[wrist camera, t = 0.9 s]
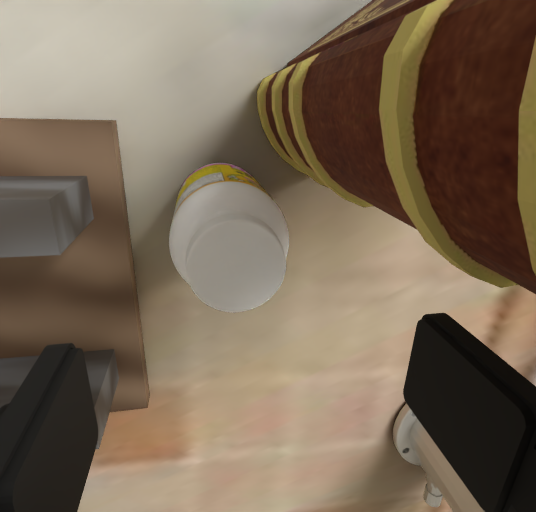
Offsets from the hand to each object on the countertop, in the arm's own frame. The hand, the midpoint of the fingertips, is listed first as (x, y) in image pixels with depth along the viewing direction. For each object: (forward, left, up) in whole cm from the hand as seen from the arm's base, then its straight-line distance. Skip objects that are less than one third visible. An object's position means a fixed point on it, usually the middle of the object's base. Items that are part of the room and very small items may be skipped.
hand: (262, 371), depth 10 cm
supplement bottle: (0, 0, -20) cm, 20 cm away
